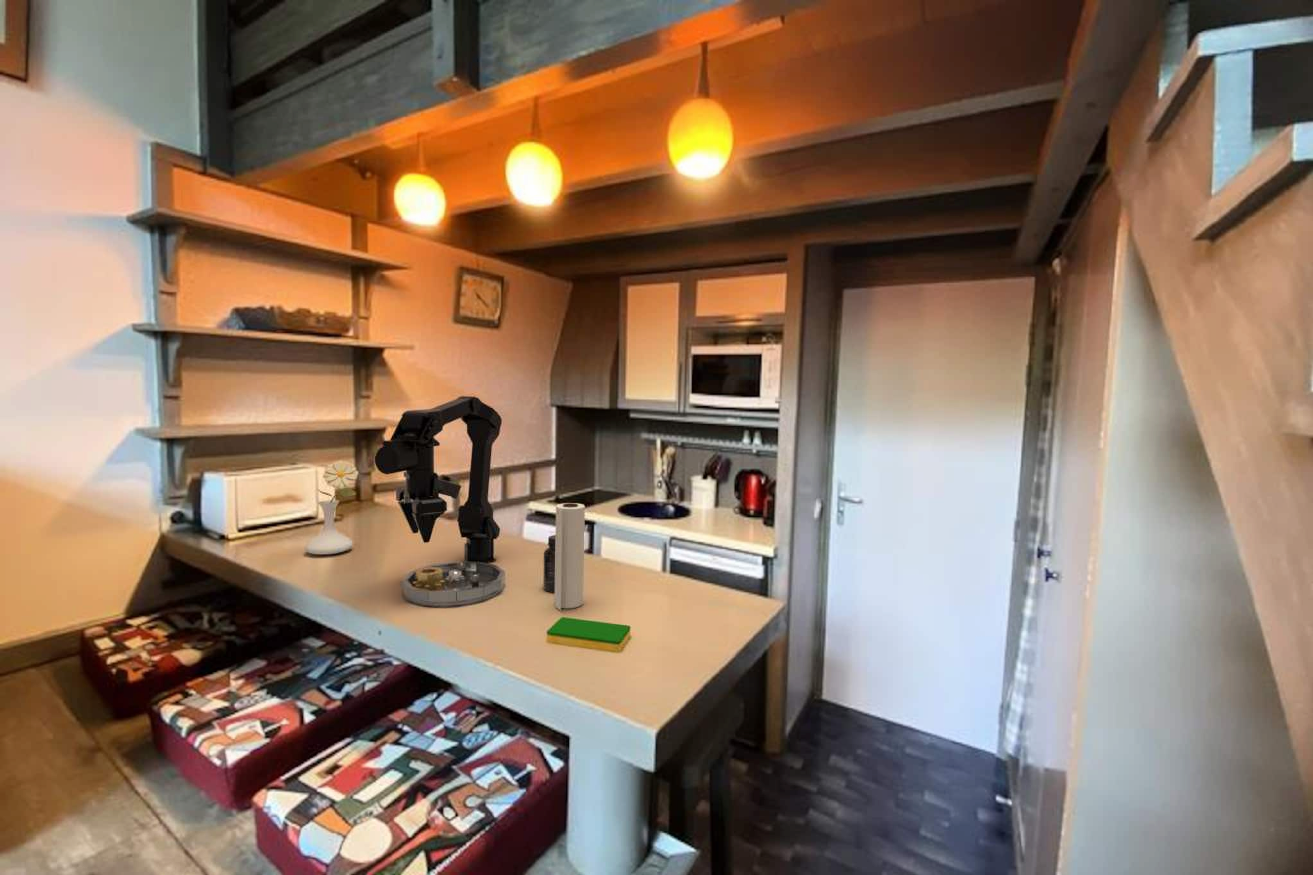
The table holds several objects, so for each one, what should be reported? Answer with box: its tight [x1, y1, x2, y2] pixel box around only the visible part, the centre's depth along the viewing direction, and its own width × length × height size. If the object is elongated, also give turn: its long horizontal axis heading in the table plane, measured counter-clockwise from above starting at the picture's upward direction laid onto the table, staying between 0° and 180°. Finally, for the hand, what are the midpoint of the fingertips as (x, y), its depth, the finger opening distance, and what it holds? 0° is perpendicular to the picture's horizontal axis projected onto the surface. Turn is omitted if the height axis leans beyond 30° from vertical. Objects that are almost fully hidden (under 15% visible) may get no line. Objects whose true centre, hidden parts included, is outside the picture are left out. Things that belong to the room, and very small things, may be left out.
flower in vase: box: [304, 460, 359, 556], centre depth 150 cm, size 13×11×25 cm
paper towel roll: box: [554, 502, 586, 613], centre depth 118 cm, size 7×6×21 cm
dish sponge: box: [546, 616, 631, 653], centre depth 102 cm, size 7×14×2 cm, turn 77°
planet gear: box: [413, 567, 445, 591], centre depth 122 cm, size 6×6×4 cm
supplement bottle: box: [542, 534, 556, 594], centre depth 128 cm, size 7×7×12 cm
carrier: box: [401, 561, 506, 608], centre depth 125 cm, size 21×21×4 cm
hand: (420, 537), depth 124 cm, fingers open, 9 cm apart
